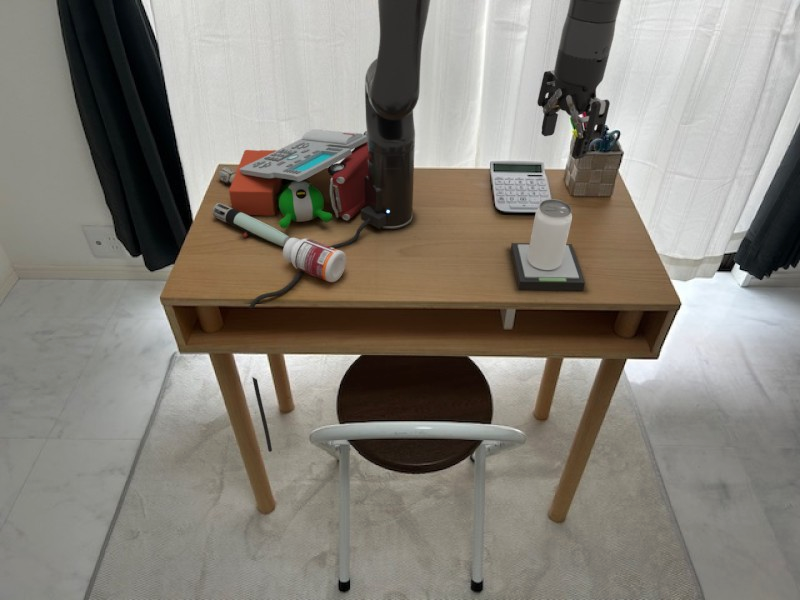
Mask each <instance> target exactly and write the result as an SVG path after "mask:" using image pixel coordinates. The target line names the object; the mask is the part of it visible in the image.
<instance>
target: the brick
mask: <svg viewBox="0 0 800 600" xmlns="http://www.w3.org/2000/svg"><path fill="white" fill-rule="evenodd" d="M275 151H277V150H275V149H273V150H272V149H271V150H268V149H267V150H266V149H261V150H260V149H259V150H257V149H245V150H244V151H243V154H242V156H241V158H240V162H239V164H238V166H237V169H236V174H235V177H234V179H233V182H232V184H231V183H230V184H231V186H229V189H228V193H229V199H230V204H231V208H233V209H236V210H238V211H240V212H242V213H244V214H246V215H248V216H266V217H267V216H269V217H270V216H272V217H273V216H276V213H277V210H278V208H279V202H278V201H277V196H278V195H279V194H281V192H280V191H281V187H282V186H283V178H277V177H274V178H263V177H257V176H251V175H245V174H241V171H240V168H242V167H244V166H246V165H248V164H250V163H252V162H255V161H257V160H259V159H261V158H263V157H265V156H267V155H269V154H271V153H273V152H275Z"/></svg>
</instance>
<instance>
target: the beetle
mask: <svg viewBox="0 0 800 600" xmlns="http://www.w3.org/2000/svg"><path fill="white" fill-rule="evenodd" d="M236 171H237V170H236ZM236 171H235V170H234V169H233V168H231V167H222V168H221V169H219V171H218V178H219V180H221V182H224V183H225V184H226V185H227V184H229V187H231V184H232V182H233V179H234V177H235V174H236Z"/></svg>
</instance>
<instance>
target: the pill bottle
mask: <svg viewBox="0 0 800 600" xmlns="http://www.w3.org/2000/svg"><path fill="white" fill-rule="evenodd" d="M330 246H331V245H327V244H324V243H321V242H318V241H316V240H314V239H311V238H301V239H300V238H297V237H290V239H289V240H288V241H287V242H286V244H285V246H284V247H283V248H282V257H283V259H284V260H285V261H287V262H289V263H291V264H292V266H293V267H294V268H295V269H296V270H298V271H300V270H301V271H303V272H304V273H306V274H308V275H310V276H313V277H316V278H318V279H321V280H324V281H326V282H329V283H334V282H337V281H338V280H339V279H340V278H341V277H342V275H343V273H344V272H345V268H346V265H347V255H346V253H345V252H344V251H342V250H341V249H339V248H336V249H335V248H332V247H330Z"/></svg>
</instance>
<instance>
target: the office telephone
mask: <svg viewBox="0 0 800 600" xmlns="http://www.w3.org/2000/svg"><path fill="white" fill-rule="evenodd" d="M363 134H364V133H362V132H361V133H359V132H350V131H338V130H337V131H336V130H328V129H310V130H308V131H306V132H305V133H304V134H303V135H302V137H301V138H300V139H298V140H296V141H294V142H292V143H290V144H288V145H285V146H284V147H281V148H279V149H277V150H276V151H275V152H273V153H271V154H269V155H267V156H265V157H263V158H261V159H259V160H257V161H255V162H252V163H250V164H248V165H246V166H244V167H242V168H240V171H241V174H245V175H251V176H257V177H263V178H274V177H277V178H284V179H290V180H295V181H297V182H300V181H304V180H306V179H308V178H310V177H312V176H314V175H315V174H318V173H319V172H321V171H324V170H325V169H328V167H330V166H331V165H333V164H336V163H339V162H341V161H342V160H343V159H344V158H346V157H347V156H349V155H351V154H352V153H351V151H352V150H353V149H355V148H356V147H358V146H360V145H362V144H363V143H365V142H367V135H363Z"/></svg>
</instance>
